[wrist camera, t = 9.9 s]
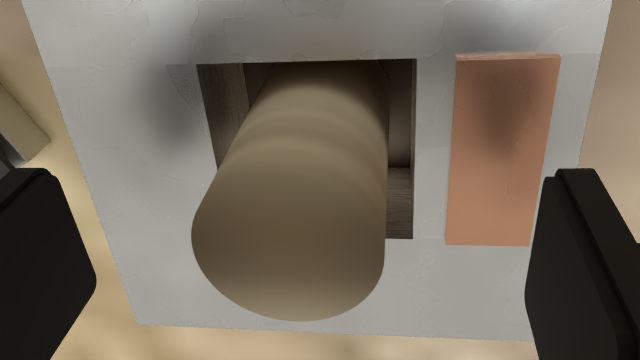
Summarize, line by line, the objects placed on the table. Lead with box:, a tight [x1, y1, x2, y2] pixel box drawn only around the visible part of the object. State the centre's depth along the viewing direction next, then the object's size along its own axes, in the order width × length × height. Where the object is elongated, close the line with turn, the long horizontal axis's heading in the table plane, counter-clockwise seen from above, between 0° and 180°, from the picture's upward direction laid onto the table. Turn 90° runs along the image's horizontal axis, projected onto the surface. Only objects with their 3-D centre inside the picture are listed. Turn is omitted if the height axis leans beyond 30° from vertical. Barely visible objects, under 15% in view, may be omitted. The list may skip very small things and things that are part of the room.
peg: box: [191, 59, 390, 322], centre depth 13 cm, size 4×4×7 cm
